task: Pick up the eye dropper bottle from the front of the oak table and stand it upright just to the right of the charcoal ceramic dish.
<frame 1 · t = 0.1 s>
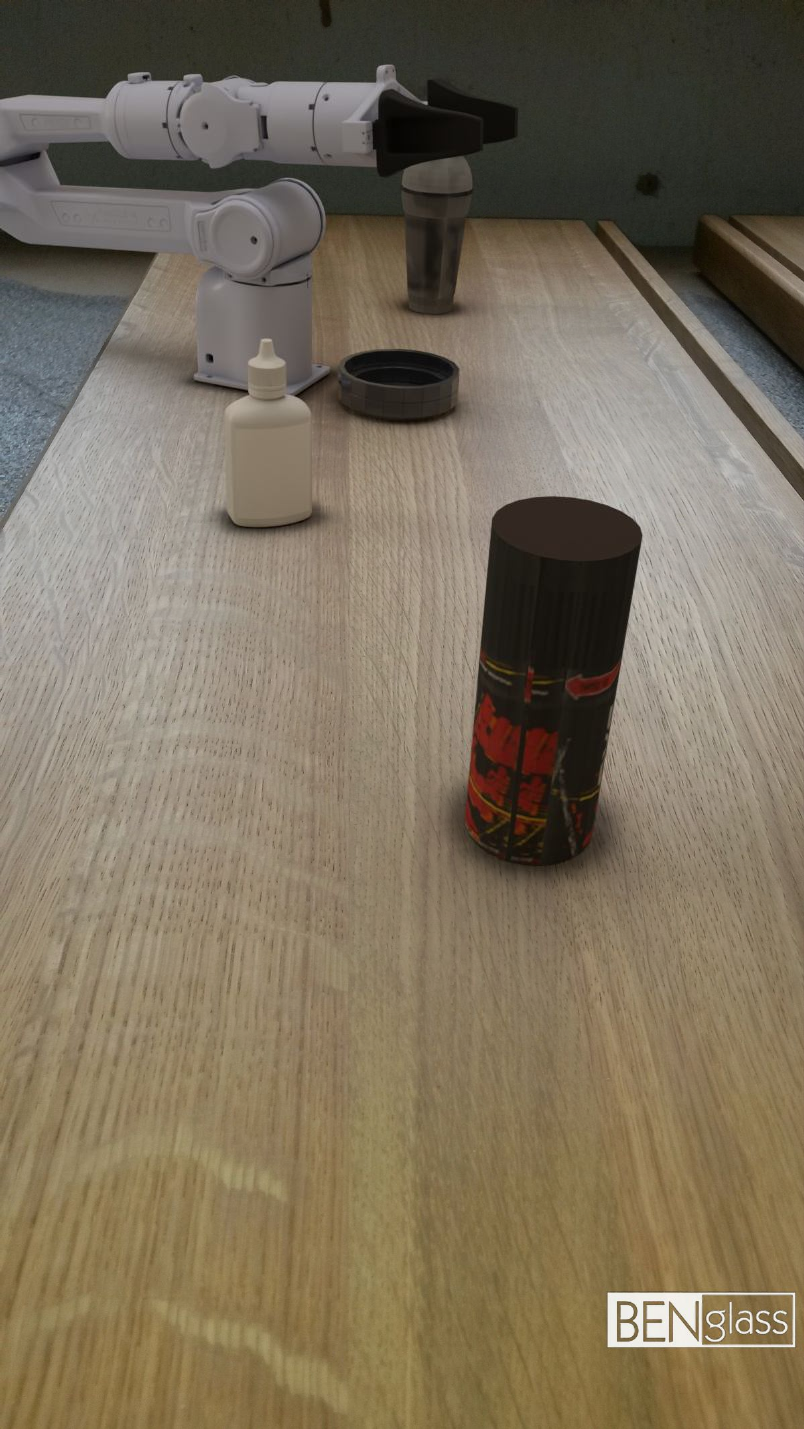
hand: (499, 128, 88), 22 cm above the table, tool horizontal, fingers open, 7 cm apart
eye dropper bottle: (270, 519, 83), on the table
dish: (397, 402, 102), on the table
deodorant: (528, 826, 57), on the table
beverage cup: (430, 309, 127), on the table
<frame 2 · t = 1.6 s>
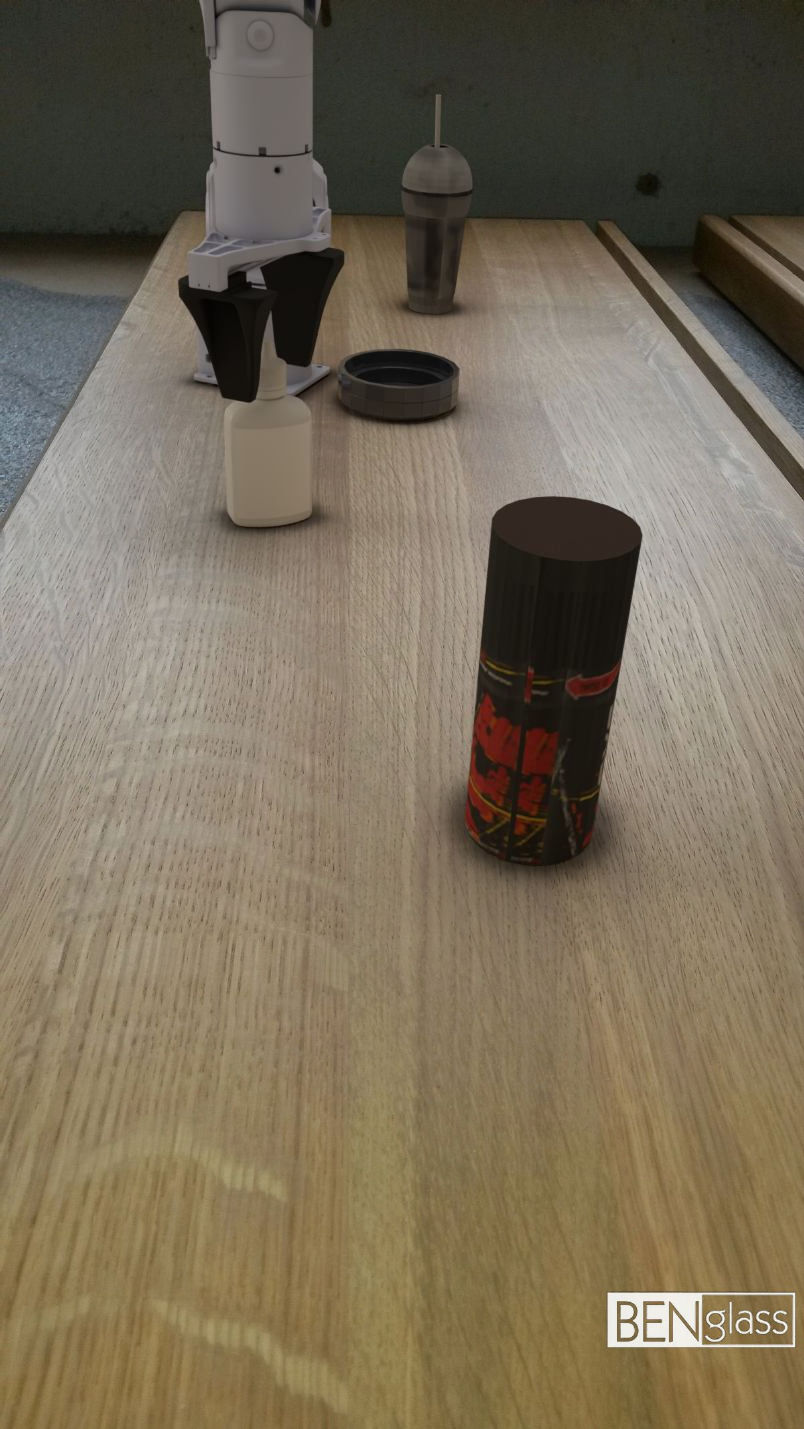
hand: (267, 380, 77), 9 cm above the table, tool pointing down, fingers open, 7 cm apart
nothing on the table moved.
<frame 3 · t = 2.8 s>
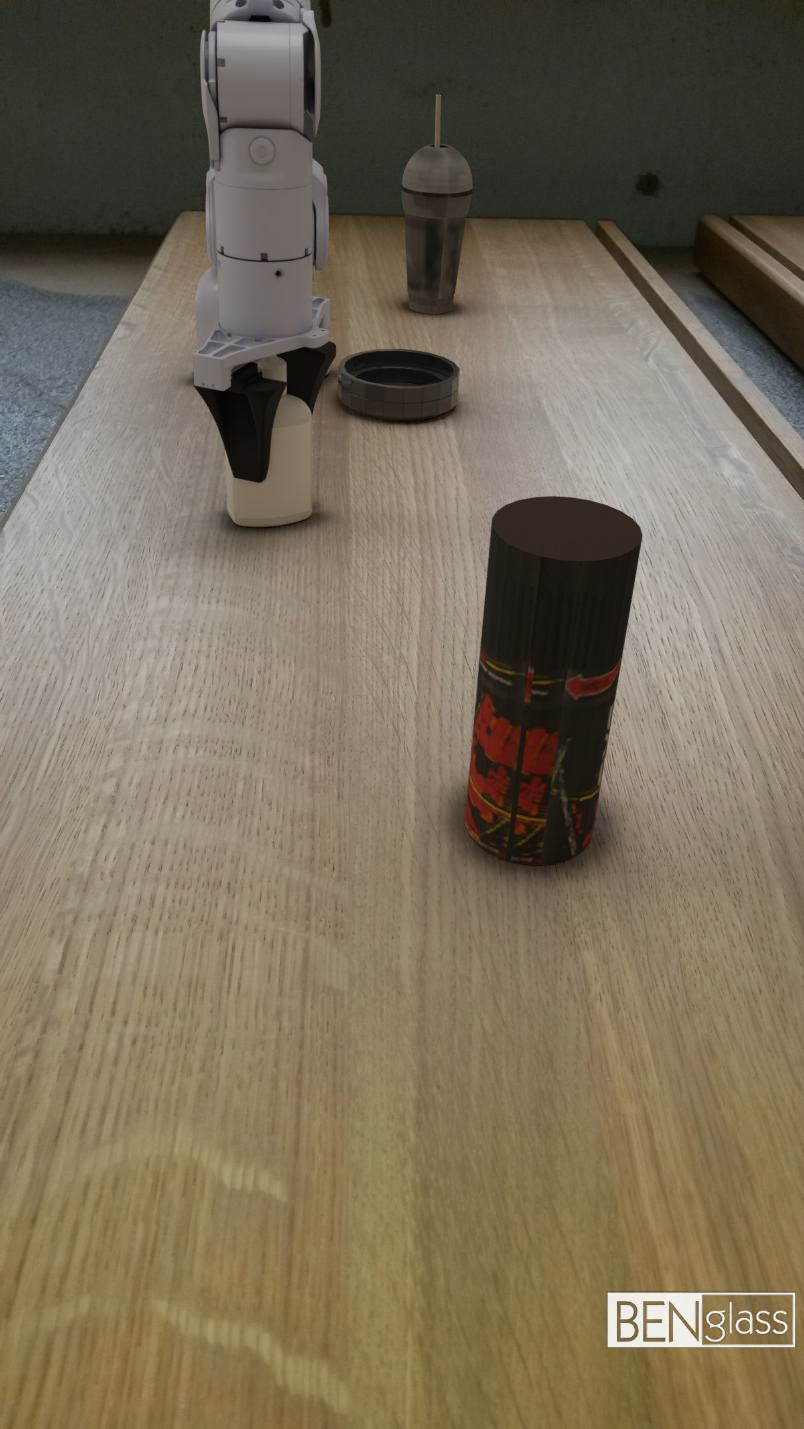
hand: (268, 464, 81), 4 cm above the table, tool pointing down, fingers closed on eye dropper bottle, 5 cm apart
eye dropper bottle: (270, 519, 83), on the table, touching gripper
everything else where it was.
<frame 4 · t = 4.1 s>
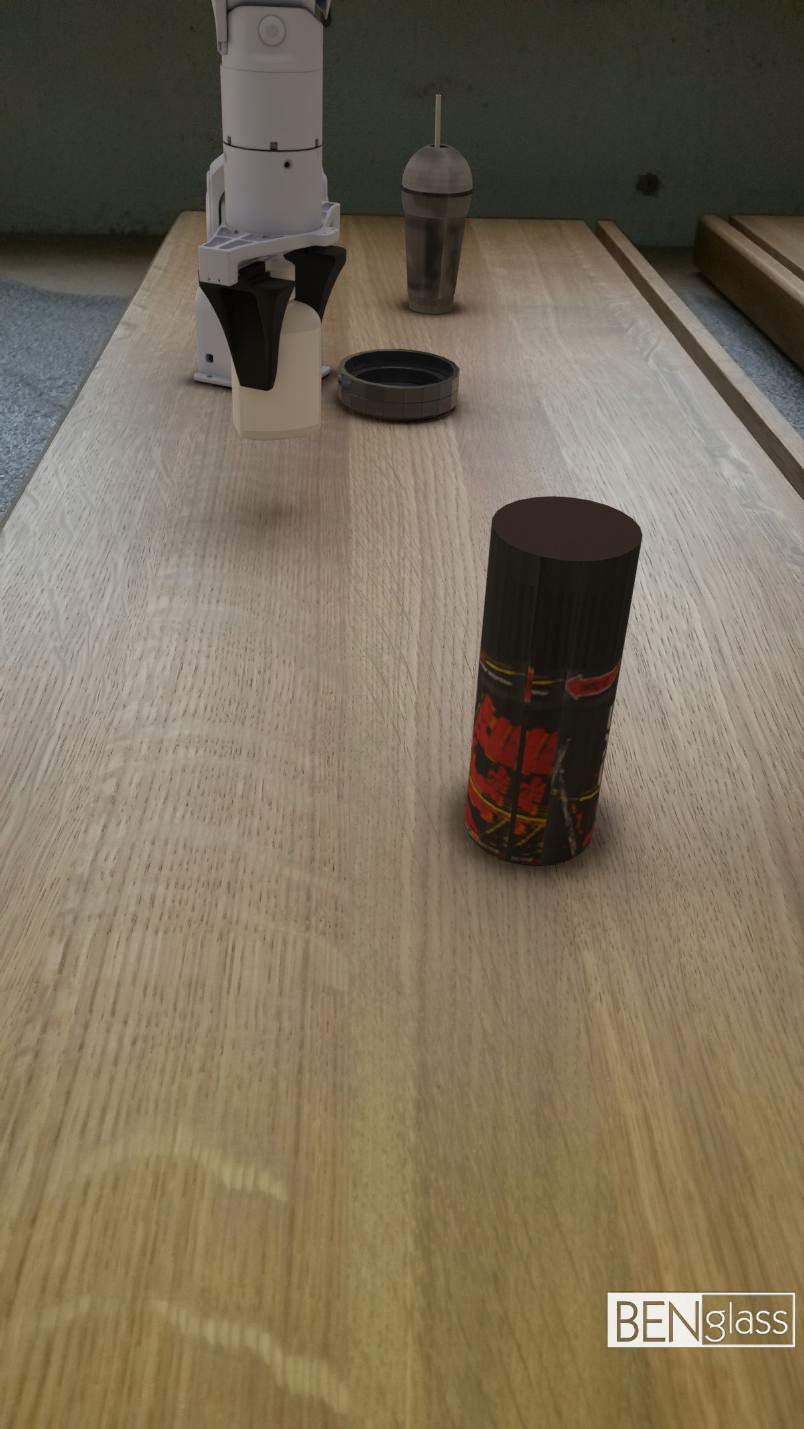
hand: (276, 374, 78), 10 cm above the table, tool pointing down, fingers closed on eye dropper bottle, 5 cm apart
eye dropper bottle: (277, 434, 80), point 6 cm above the table, touching gripper
everything else where it was.
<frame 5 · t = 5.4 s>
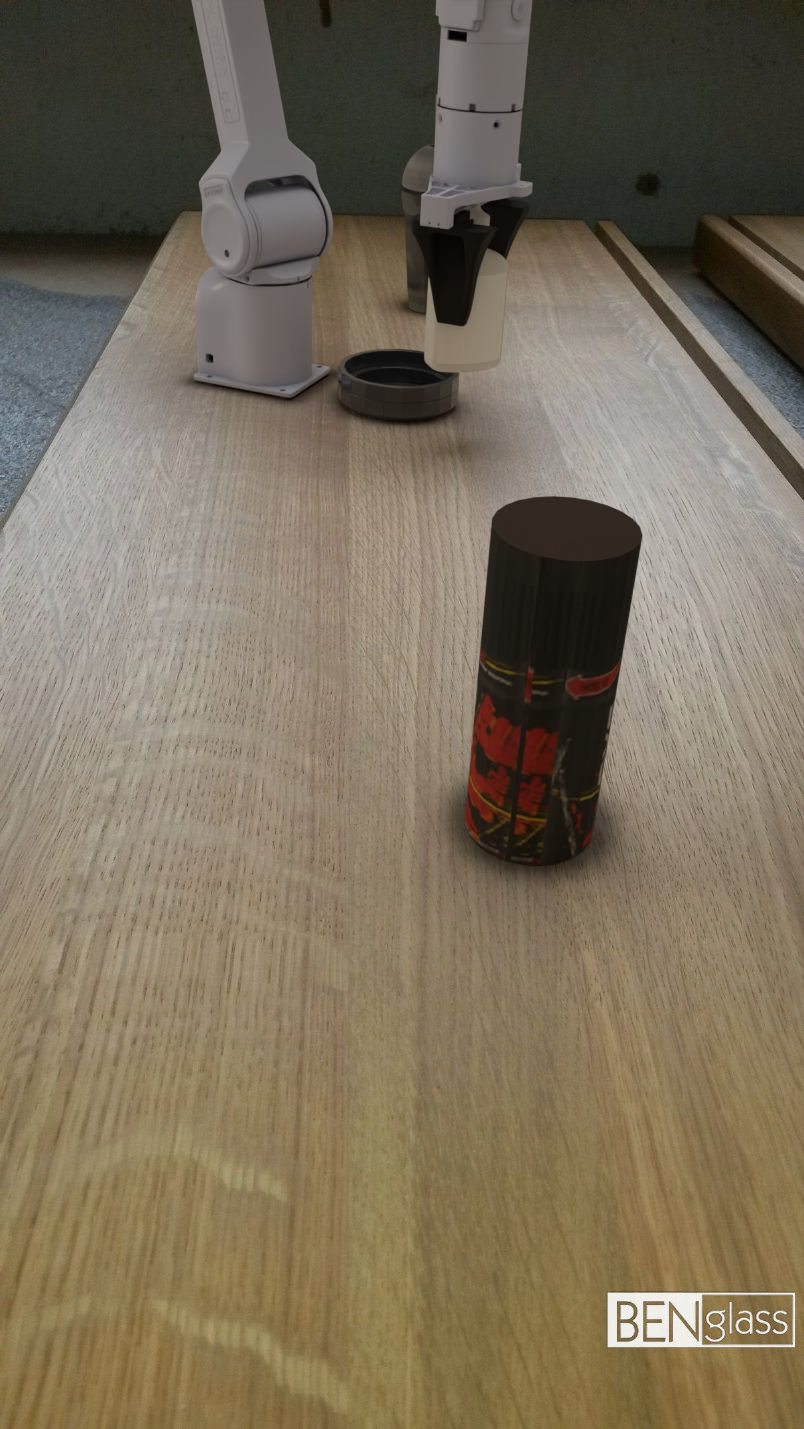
hand: (464, 314, 88), 10 cm above the table, tool pointing down, fingers closed on eye dropper bottle, 5 cm apart
eye dropper bottle: (461, 368, 91), point 6 cm above the table, touching gripper
everything else where it was.
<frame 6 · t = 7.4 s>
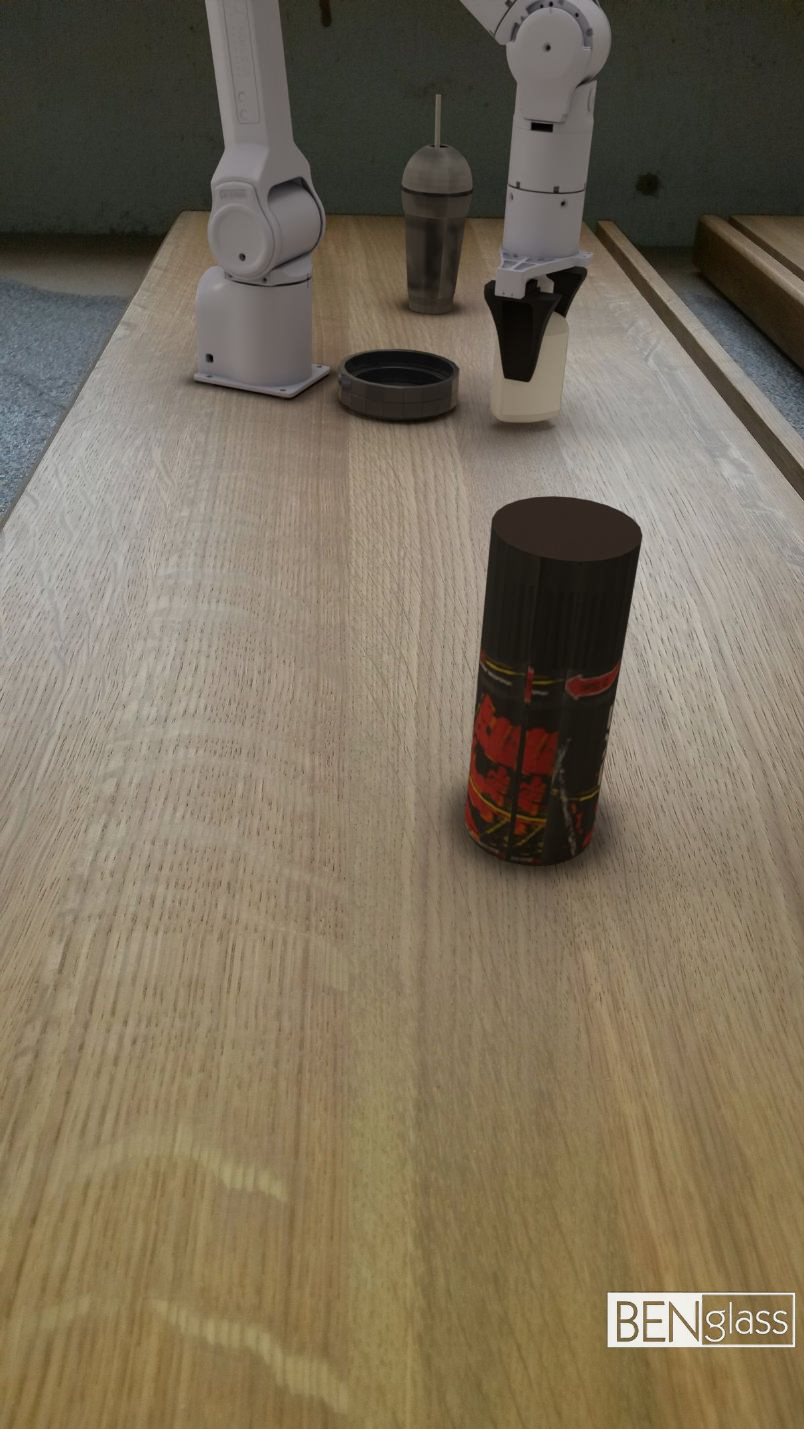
hand: (527, 369, 97), 5 cm above the table, tool pointing down, fingers closed on eye dropper bottle, 5 cm apart
eye dropper bottle: (524, 417, 99), point 1 cm above the table, touching gripper
everything else where it was.
when the fingers open (4 cm above the table, at t = 8.2 s): eye dropper bottle stays where it is, on the table.
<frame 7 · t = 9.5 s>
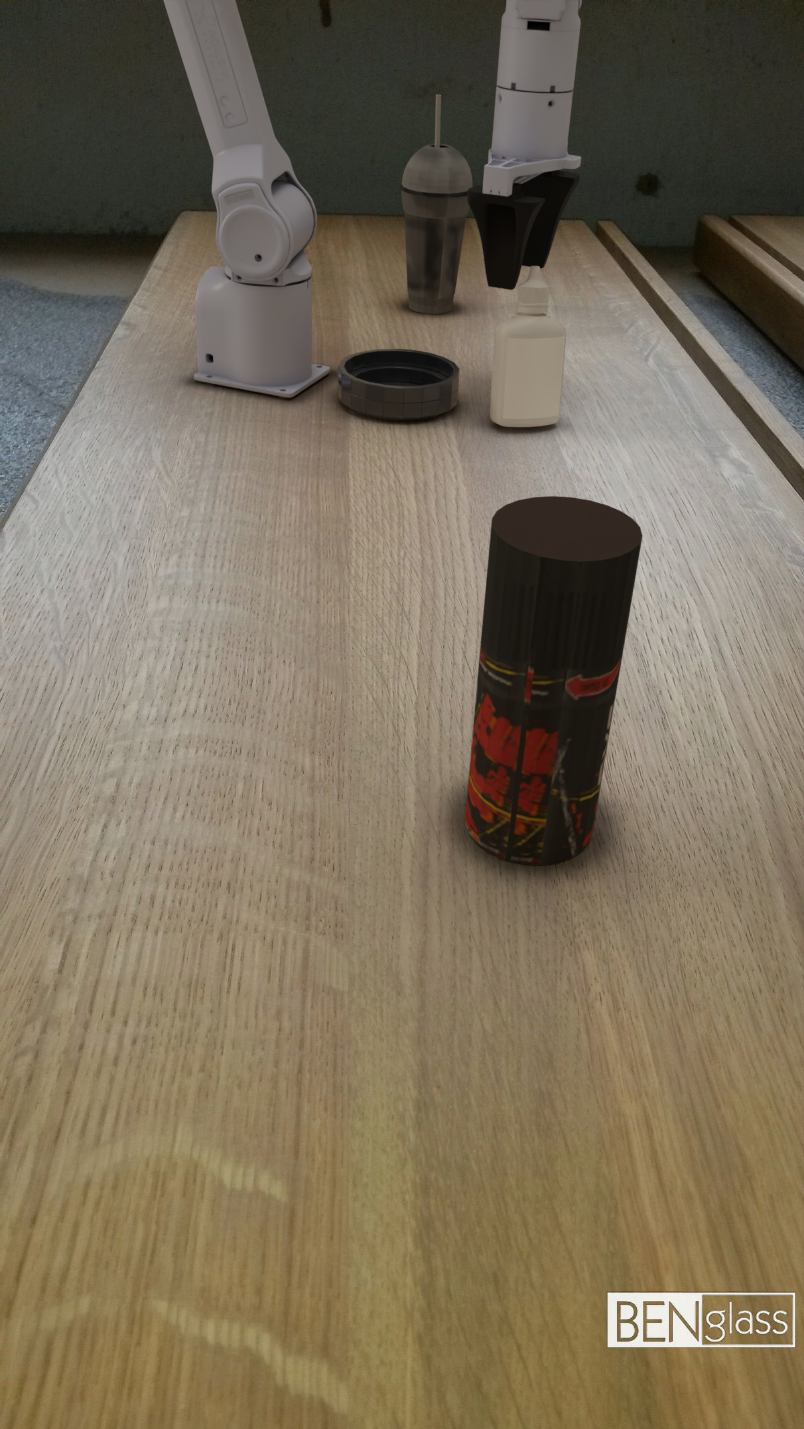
hand: (516, 276, 98), 10 cm above the table, tool pointing down, fingers open, 7 cm apart
eye dropper bottle: (524, 425, 99), on the table
everything else where it was.
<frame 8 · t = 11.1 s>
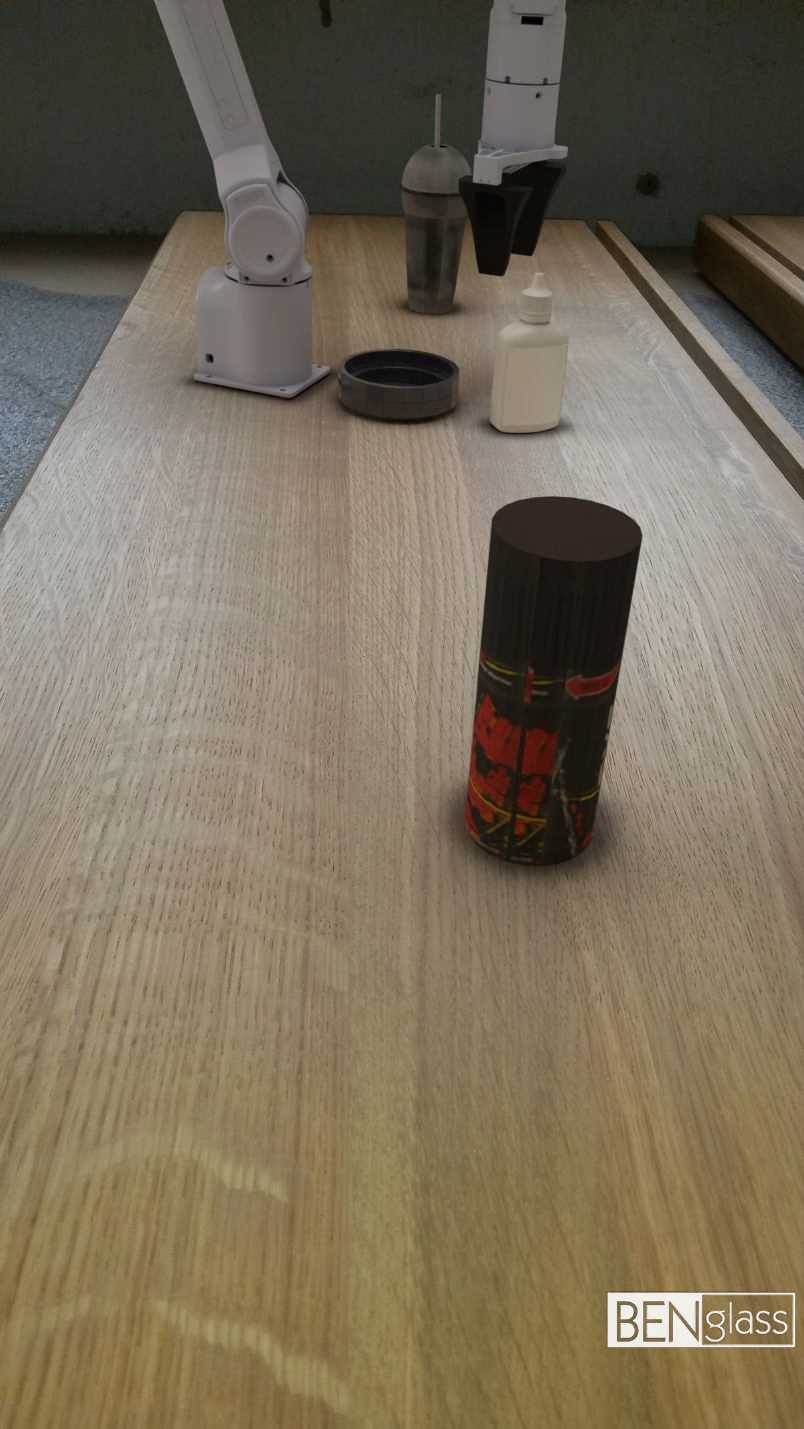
hand: (506, 263, 101), 10 cm above the table, tool pointing down, fingers open, 7 cm apart
at the end: eye dropper bottle inside the target area on the table beside the dish (0.5 cm from its centre), on the table; eye dropper bottle tilted 0°; the gripper is holding nothing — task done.
